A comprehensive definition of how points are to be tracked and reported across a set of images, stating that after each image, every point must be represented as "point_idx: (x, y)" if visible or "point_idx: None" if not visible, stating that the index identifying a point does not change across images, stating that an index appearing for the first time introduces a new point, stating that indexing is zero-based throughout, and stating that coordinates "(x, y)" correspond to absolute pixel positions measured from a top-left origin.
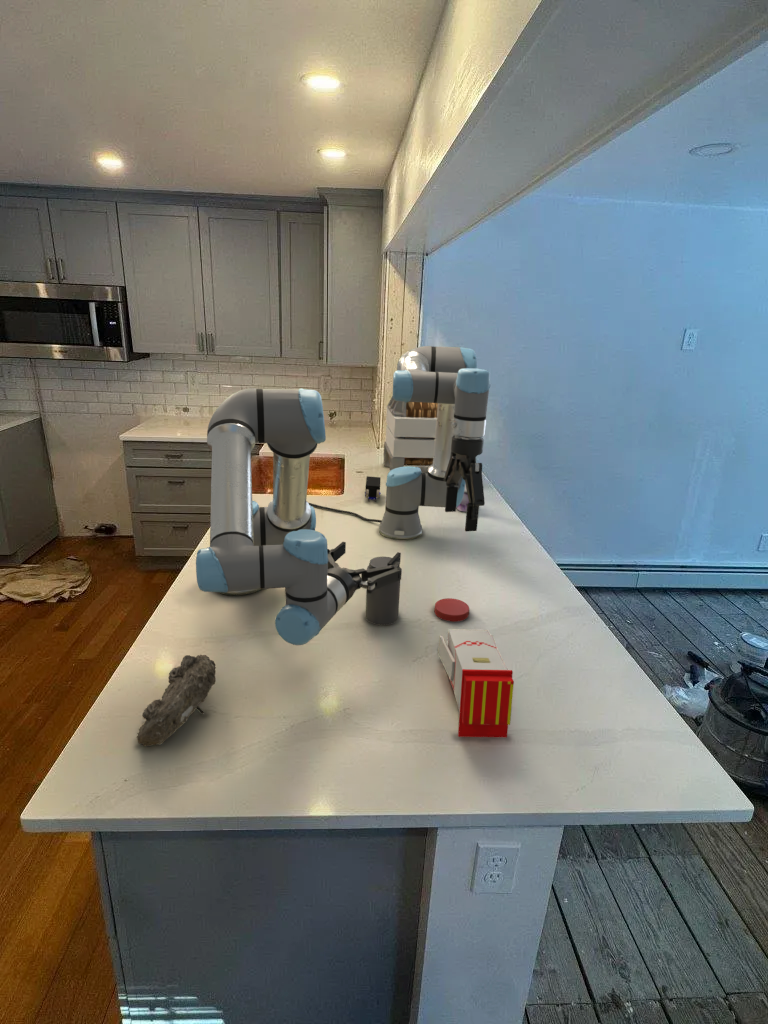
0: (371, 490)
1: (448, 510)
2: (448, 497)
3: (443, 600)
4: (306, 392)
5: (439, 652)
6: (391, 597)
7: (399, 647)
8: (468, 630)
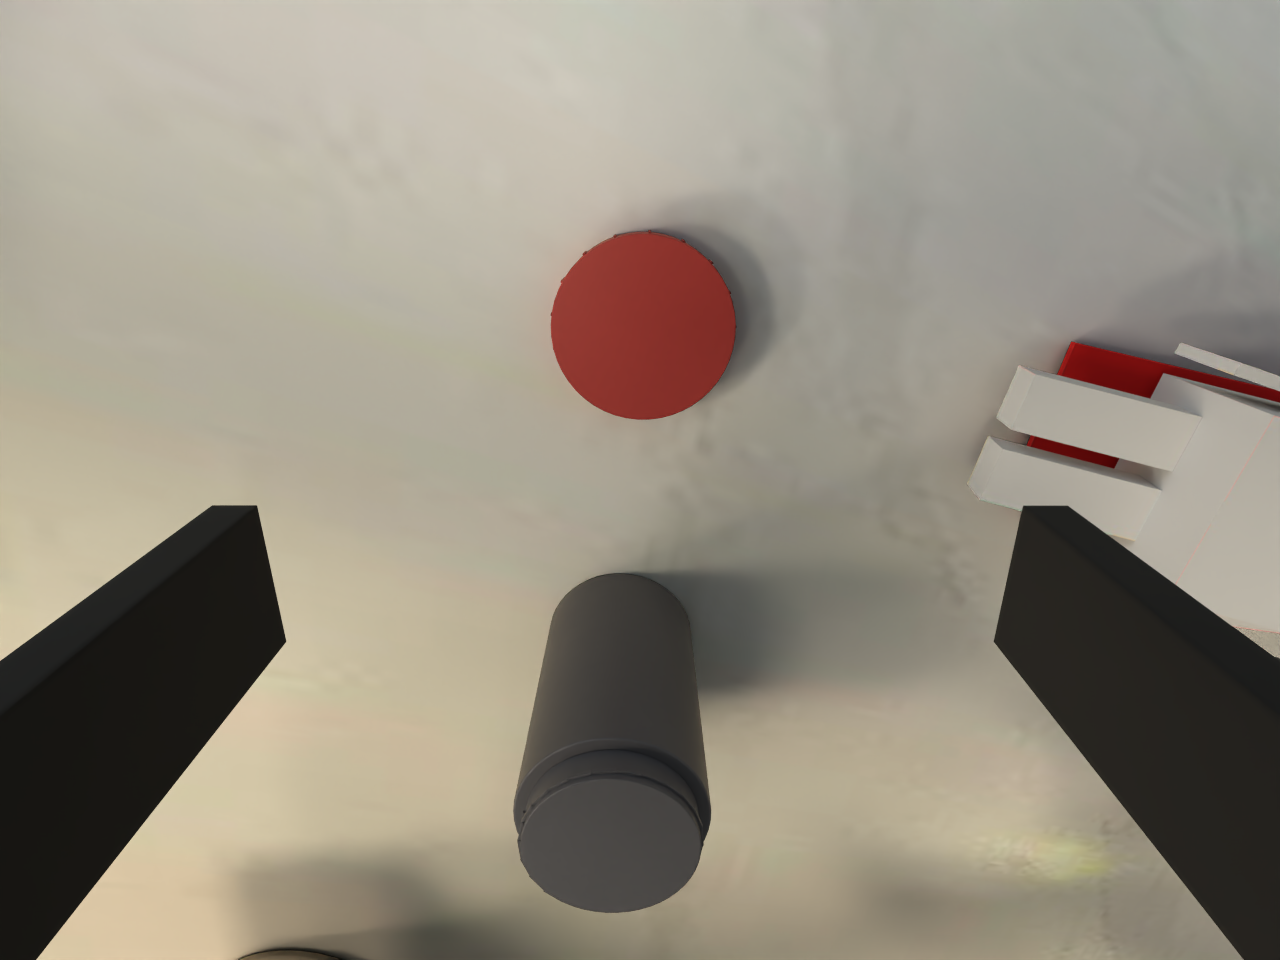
0: None
1: (267, 621)
2: (141, 795)
3: (571, 353)
4: None
5: None
6: (697, 703)
7: (858, 625)
8: (1229, 516)
